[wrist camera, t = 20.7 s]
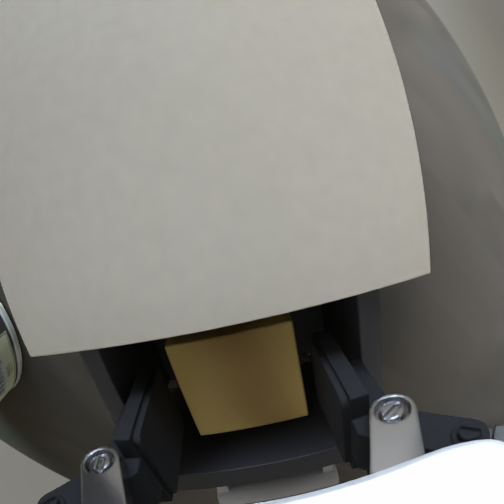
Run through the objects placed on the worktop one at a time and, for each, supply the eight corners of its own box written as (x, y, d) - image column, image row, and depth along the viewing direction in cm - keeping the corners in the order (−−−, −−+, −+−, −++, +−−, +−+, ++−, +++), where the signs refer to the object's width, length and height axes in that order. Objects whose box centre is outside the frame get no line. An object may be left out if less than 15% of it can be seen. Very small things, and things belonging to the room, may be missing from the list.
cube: (205, 377, 16) (200, 436, 12) (180, 300, 15) (163, 347, 11) (290, 360, 16) (309, 415, 12) (274, 279, 15) (292, 320, 11)
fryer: (339, 227, 17) (431, 273, 8) (110, 279, 16) (30, 357, 8) (279, -17, 13) (312, -117, 5) (66, 37, 13) (-16, -26, 5)
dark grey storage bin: (353, 429, 19) (387, 501, 12) (192, 462, 19) (186, 540, 12) (313, 125, 15) (372, 92, 8) (87, 180, 14) (6, 186, 8)
